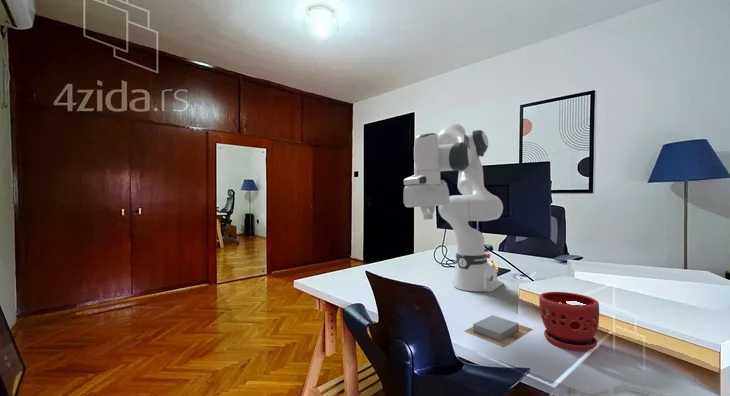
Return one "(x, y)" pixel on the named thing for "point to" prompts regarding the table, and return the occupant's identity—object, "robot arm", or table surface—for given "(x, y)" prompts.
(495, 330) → the tile
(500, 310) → the table surface
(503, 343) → the cork mat
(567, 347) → the plant pot
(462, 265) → the robot arm
